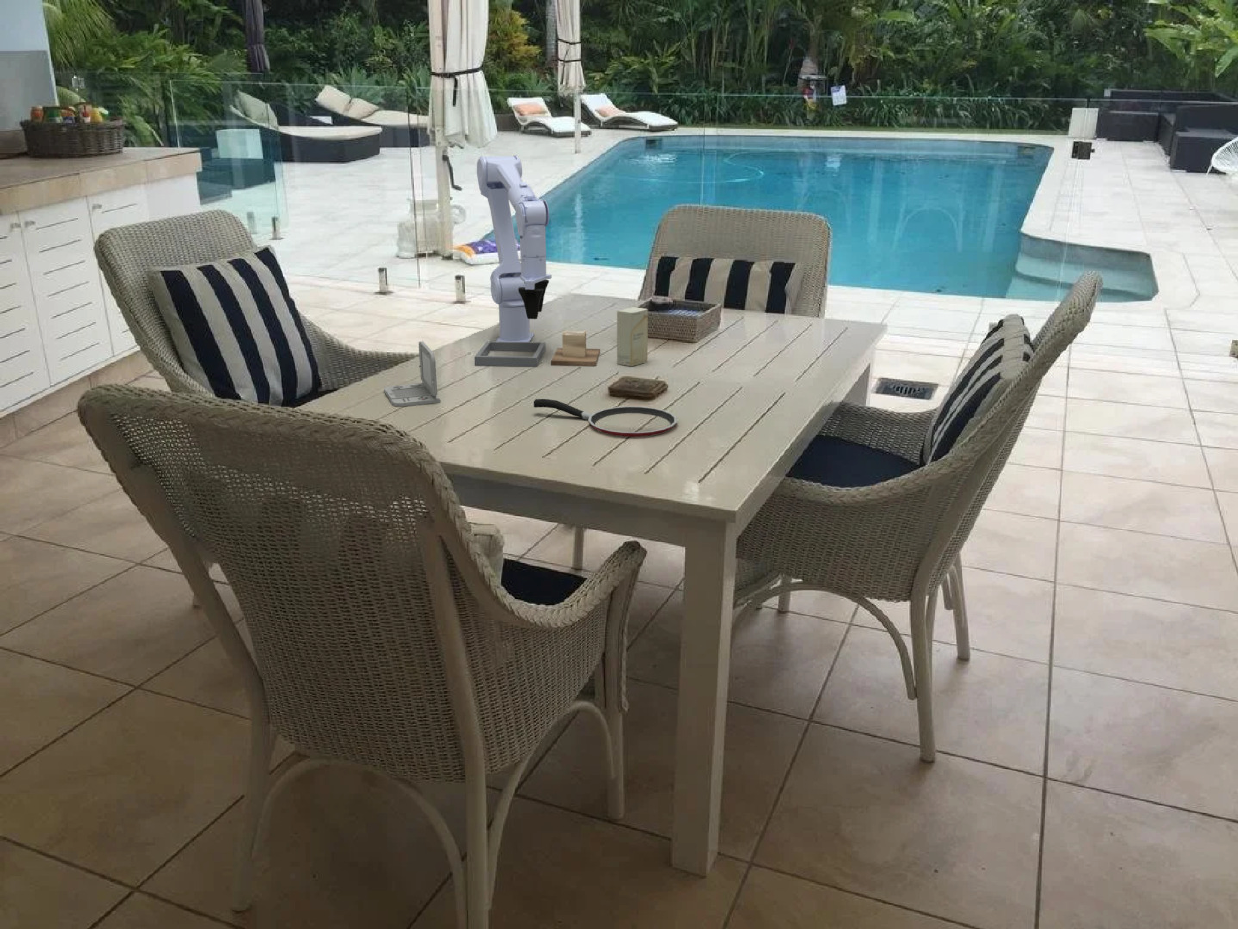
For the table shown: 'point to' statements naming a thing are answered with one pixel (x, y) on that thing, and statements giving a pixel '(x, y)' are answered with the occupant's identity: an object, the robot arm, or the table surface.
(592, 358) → the walnut board
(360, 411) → the table surface
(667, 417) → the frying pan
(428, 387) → the handheld gaming console
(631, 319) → the skincare box
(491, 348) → the grey bin
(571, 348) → the maple block
